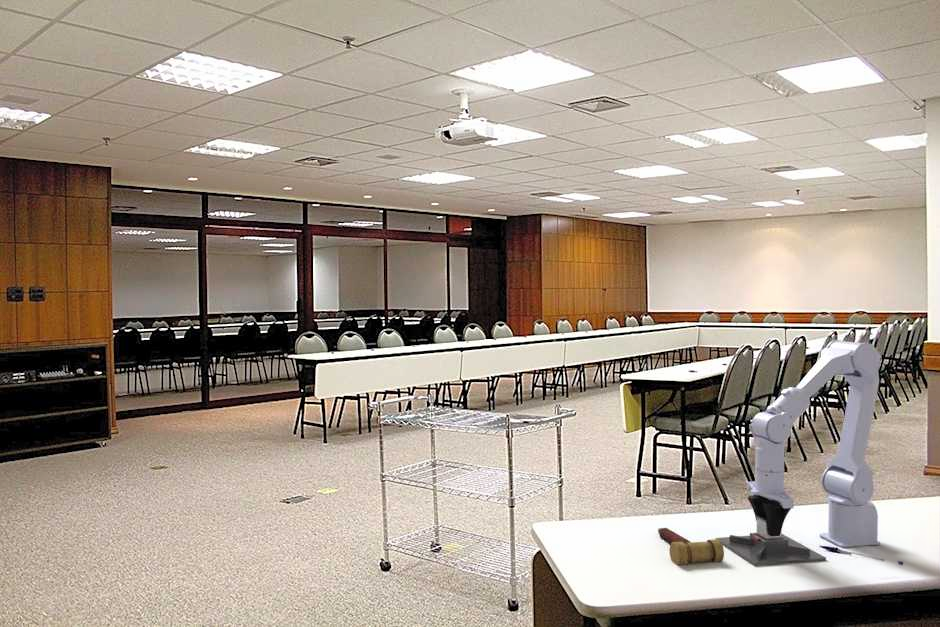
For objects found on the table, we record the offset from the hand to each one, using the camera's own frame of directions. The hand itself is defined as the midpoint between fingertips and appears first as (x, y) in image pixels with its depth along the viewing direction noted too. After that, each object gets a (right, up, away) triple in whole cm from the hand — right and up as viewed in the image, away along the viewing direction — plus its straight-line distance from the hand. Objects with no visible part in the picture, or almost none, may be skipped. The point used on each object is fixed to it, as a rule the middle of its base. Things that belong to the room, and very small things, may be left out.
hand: (768, 532), depth 167 cm
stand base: (0, -4, 0) cm, 4 cm away
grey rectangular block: (0, -4, 0) cm, 4 cm away
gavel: (-19, -5, +2) cm, 19 cm away
